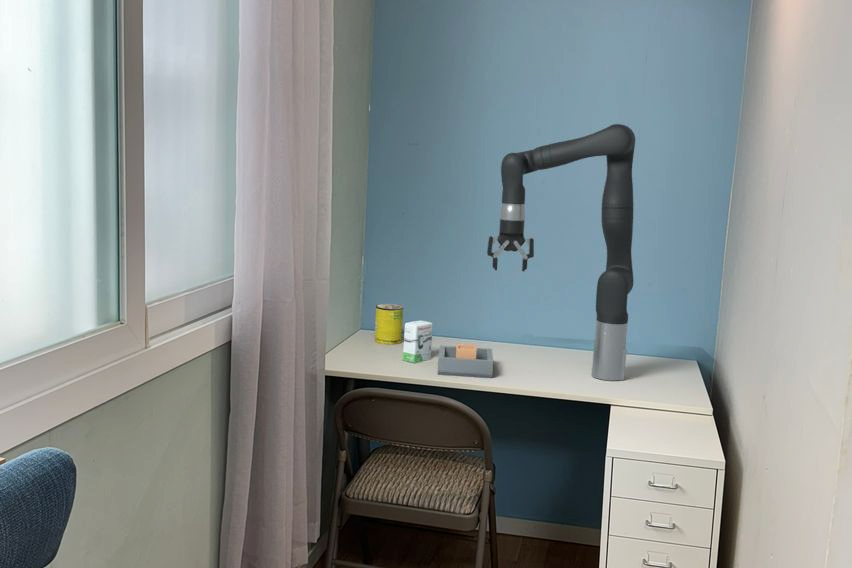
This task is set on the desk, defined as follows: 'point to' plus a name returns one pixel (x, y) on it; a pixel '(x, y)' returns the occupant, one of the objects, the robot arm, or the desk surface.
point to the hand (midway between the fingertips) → (509, 270)
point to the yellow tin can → (388, 324)
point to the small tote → (466, 351)
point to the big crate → (465, 363)
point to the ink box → (417, 341)
